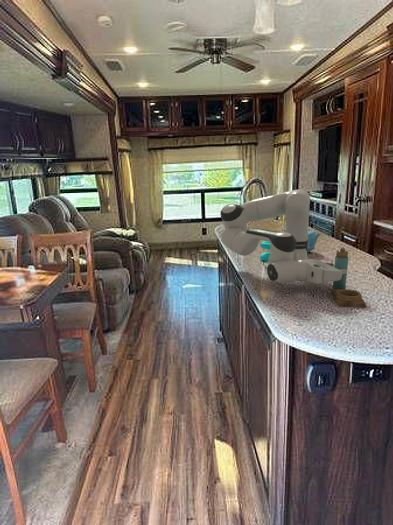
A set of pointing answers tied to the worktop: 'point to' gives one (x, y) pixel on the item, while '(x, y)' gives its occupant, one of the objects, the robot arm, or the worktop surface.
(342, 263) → the pepper mill
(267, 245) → the donuts
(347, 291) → the base
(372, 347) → the worktop surface
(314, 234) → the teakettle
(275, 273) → the robot arm
